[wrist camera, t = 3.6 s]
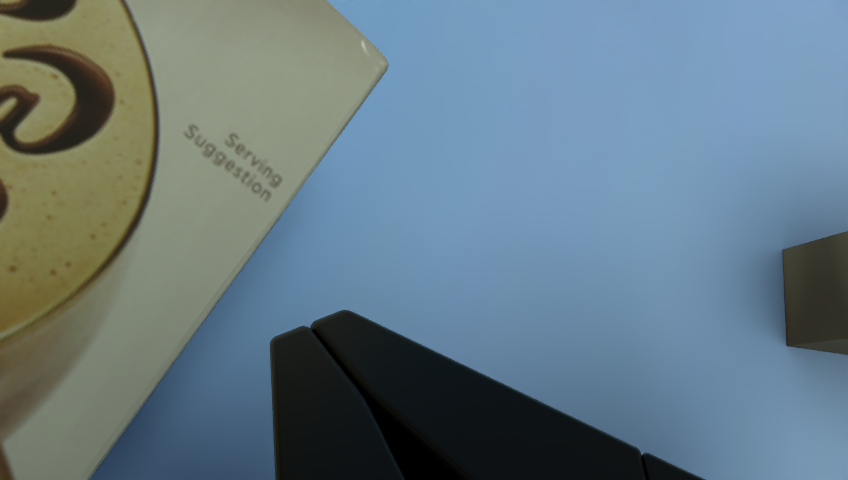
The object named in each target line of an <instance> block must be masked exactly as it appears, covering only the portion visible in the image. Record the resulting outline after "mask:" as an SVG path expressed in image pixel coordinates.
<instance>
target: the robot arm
mask: <svg viewBox="0 0 848 480" xmlns="http://www.w3.org/2000/svg"><path fill="white" fill-rule="evenodd" d="M270 361H271V385H272V409H273V432H274V456H275V480H705V479H703V478H701V477H698V476H696V475H694V474H692V473H689V472H687V471H685V470H683V469H681V468H679V467H677V466H675V465H672V464H670V463H668V462H666V461H664V460H662V459H660V458H658V457H656V456H654V455H652V454H649V453H644V454H642V456H641V453H640V451H639V449H638V448H636V447H634V446H632V445H630V444H628V443H626V442H624V441H622V440H619V439H617V438H615V437H613V436H611V435H609V434H607V433H605V432H603V431H601V430H599V429H596V428H594V427H592V426H590V425H588V424H586V423H584V422H582V421H580V420H578V419H576V418H573V417H571V416H569V415H567V414H565V413H563V412H561V411H559V410H557V409H555V408H553V407H550V406H548V405H546V404H544V403H542V402H540V401H538V400H536V399H534V398H532V397H530V396H527V395H525V394H523V393H521V392H519V391H517V390H515V389H513V388H511V387H509V386H507V385H504V384H502V383H500V382H498V381H496V380H494V379H492V378H490V377H488V376H486V375H484V374H481V373H479V372H477V371H475V370H473V369H471V368H469V367H467V366H465V365H463V364H461V363H458V362H456V361H454V360H452V359H450V358H448V357H446V356H444V355H442V354H440V353H438V352H435V351H433V350H431V349H429V348H427V347H425V346H423V345H421V344H419V343H417V342H415V341H412V340H410V339H408V338H406V337H404V336H402V335H400V334H398V333H396V332H394V331H392V330H389V329H387V328H385V327H383V326H381V325H379V324H377V323H375V322H373V321H371V320H369V319H366V318H364V317H362V316H360V315H358V314H356V313H354V312H352V311H348V310H342V311H339V312H336V313H334V314H331V315H329V316H326V317H324V318H321V319H318V320H316V321H314V322H313V323H312V325H311V326H310V328H309V327H307V326H301V327H298V328H296V329H293V330H291V331H288V332H286V333H283V334H281V335H278V336H276V337H274V338H273V339H272V340H271V342H270Z"/></svg>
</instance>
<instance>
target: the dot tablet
mask: <svg viewBox="0 0 848 480" xmlns="http://www.w3.org/2000/svg"><path fill="white" fill-rule="evenodd" d="M783 265H784V289H785V312H786V335H787V346H791V347H798V348H805V349H811V350H818V351H825V352H832V353H839V354H846V355H848V231H847V232H843V233H840V234H836V235H833V236H829V237H826V238H822V239H819V240H815V241H812V242H808V243H805V244H801V245H798V246H794V247H791V248H787V249H784V250H783Z"/></svg>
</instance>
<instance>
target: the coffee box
mask: <svg viewBox="0 0 848 480" xmlns="http://www.w3.org/2000/svg"><path fill="white" fill-rule="evenodd" d="M387 68H388V62H387V59H386V58H385V56H384V55H383V54H382V53H381V52H380V51H379V50H378V49H377V48H376V47H375V46H374V45H373V44H372V43H371V42H370V41H369V40H368V39H367V38H366V37H365V36H364V35H363V34H362V33H361V32H360V31H359V30H358V29H357V28H356V27H355V26H353V25H352V24H351V23H350V22H349V21H348V20H347V19H346V18H345V17H344V16H343V15H342V14H340V13H339V12H338V11H337V10H336V9H335V8H334V7H333V6H332V5H331V4H330V3H329V2H328V1H327V0H0V480H89V479H90V478H91V477H92V475H93V474H94V473H95V471H96V470H97V468H98V467H99V466H100V464H101V463H102V462H103V460H104V459H105V457H106V456H107V455H108V453H109V452H110V451H111V449H112V448H113V446H114V445H115V444H116V442H117V441H118V439H119V438H120V437H121V435H122V434H123V433H124V431H125V430H126V428H127V427H128V426H129V424H130V423H131V422H132V420H133V419H134V417H135V416H136V415H137V413H138V412H139V410H140V409H141V408H142V406H143V405H144V404H145V402H146V401H147V399H148V398H149V397H150V395H151V394H152V393H153V391H154V390H155V388H156V387H157V386H158V384H159V383H160V381H161V380H162V379H163V377H164V376H165V375H166V373H167V372H168V370H169V369H170V368H171V366H172V365H173V364H174V362H175V361H176V359H177V358H178V357H179V355H180V354H181V352H182V351H183V350H184V348H185V347H186V346H187V344H188V343H189V341H190V340H191V339H192V337H193V336H194V334H195V333H196V332H197V330H198V329H199V328H200V326H201V325H202V323H203V322H204V321H205V319H206V318H207V317H208V315H209V314H210V312H211V311H212V310H213V308H214V307H215V306H216V304H217V303H218V301H219V300H220V299H221V297H222V296H223V295H224V293H225V292H226V290H227V289H228V288H229V286H230V285H231V284H232V282H233V281H234V279H235V278H236V277H237V275H238V274H239V273H240V271H241V270H242V268H243V267H244V266H245V264H246V263H247V262H248V260H249V259H250V258H251V256H252V255H253V253H254V252H255V251H256V249H257V248H258V247H259V245H260V244H261V242H262V241H263V240H264V238H265V237H266V236H267V234H268V233H269V231H270V230H271V229H272V227H273V226H274V225H275V223H276V222H277V220H278V219H279V218H280V216H281V215H282V213H283V212H284V211H285V209H286V208H287V207H288V205H289V204H290V202H291V201H292V200H293V198H294V197H295V196H296V194H297V193H298V191H299V190H300V189H301V187H302V186H303V185H304V183H305V182H306V180H307V179H308V178H309V176H310V175H311V174H312V172H313V171H314V169H315V168H316V167H317V165H318V164H319V163H320V161H321V160H322V159H323V157H324V156H325V154H326V153H327V152H328V150H329V149H330V148H331V146H332V145H333V144H334V142H335V141H336V139H337V138H338V137H339V135H340V134H341V133H342V131H343V130H344V129H345V127H346V126H347V124H348V123H349V122H350V120H351V119H352V118H353V116H354V115H355V113H356V112H357V111H358V109H359V108H360V107H361V105H362V104H363V102H364V101H365V100H366V98H367V97H368V95H369V94H370V93H371V91H372V90H373V89H374V87H375V86H376V84H377V83H378V82H379V80H380V79H381V78H382V76H383V75H384V73H385V72H386V70H387Z"/></svg>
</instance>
